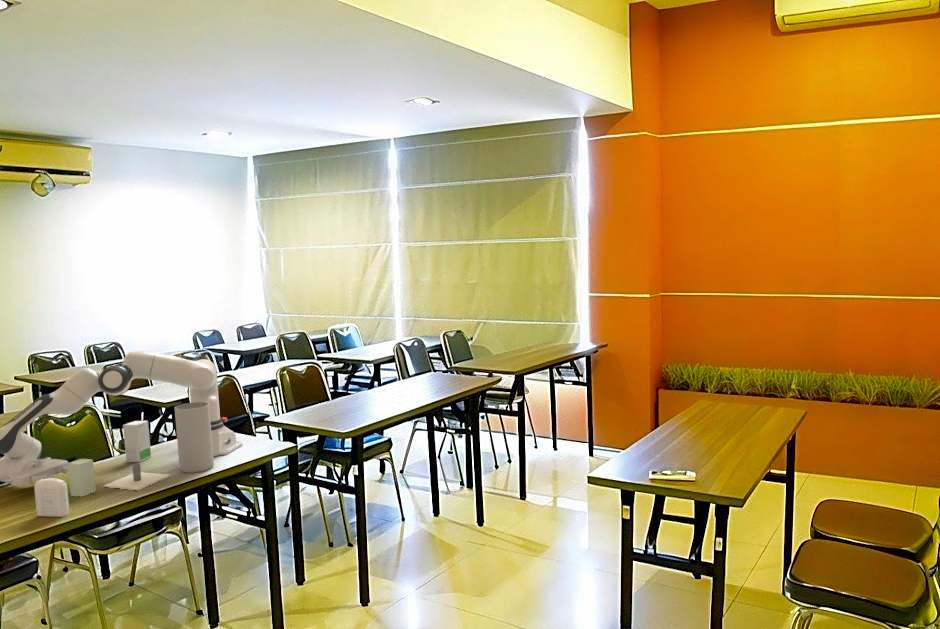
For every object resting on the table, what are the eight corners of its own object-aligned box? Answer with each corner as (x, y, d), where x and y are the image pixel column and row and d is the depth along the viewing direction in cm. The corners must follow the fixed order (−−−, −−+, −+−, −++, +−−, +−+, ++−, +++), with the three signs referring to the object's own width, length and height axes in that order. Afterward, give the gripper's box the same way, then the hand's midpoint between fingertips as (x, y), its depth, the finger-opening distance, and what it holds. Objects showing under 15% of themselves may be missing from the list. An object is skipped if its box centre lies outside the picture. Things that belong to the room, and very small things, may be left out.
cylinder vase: (174, 474, 278) (169, 410, 275) (187, 464, 290) (182, 402, 288) (207, 472, 278) (201, 408, 275) (218, 463, 290) (213, 401, 288)
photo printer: (72, 512, 240) (68, 476, 239) (63, 517, 236) (59, 480, 235) (44, 512, 242) (40, 476, 241) (34, 517, 238) (30, 480, 236)
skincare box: (139, 462, 295) (135, 425, 294) (124, 462, 297) (121, 425, 295) (152, 456, 304) (148, 420, 302) (138, 456, 305) (134, 420, 303)
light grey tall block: (84, 490, 263) (81, 458, 262) (95, 491, 261) (92, 459, 260) (70, 495, 258) (67, 463, 257) (82, 497, 256) (79, 464, 255)
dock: (137, 473, 280) (135, 455, 279) (170, 476, 275) (168, 457, 274) (103, 487, 265) (101, 468, 264) (138, 490, 260) (136, 471, 259)
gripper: (0, 472, 258) (29, 475, 253) (51, 455, 277) (78, 458, 272) (2, 489, 258) (31, 492, 253) (53, 472, 277) (80, 474, 273)
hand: (56, 474), depth 263 cm, fingers open, 8 cm apart
